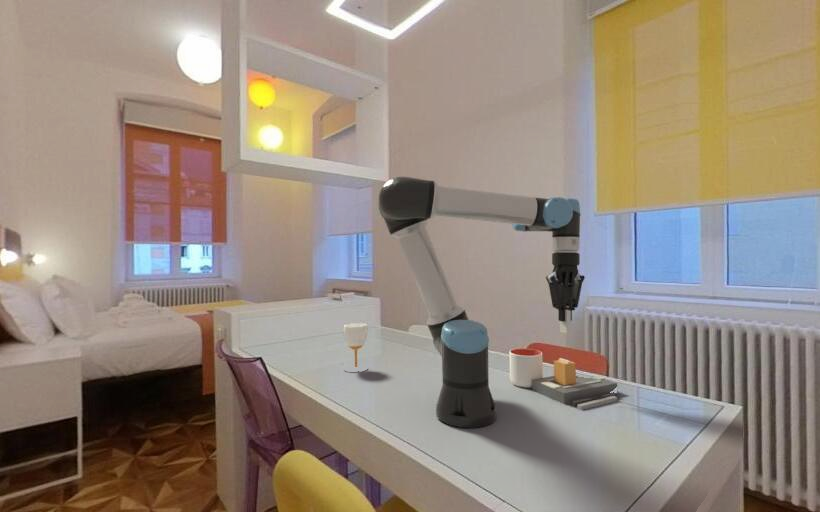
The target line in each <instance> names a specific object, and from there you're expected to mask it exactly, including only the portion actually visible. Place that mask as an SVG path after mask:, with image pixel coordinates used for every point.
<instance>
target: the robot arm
mask: <svg viewBox="0 0 820 512" xmlns="http://www.w3.org/2000/svg"><path fill="white" fill-rule="evenodd" d="M378 210H379V213H380V215H381V217H382V219H383V220H384V222H385V224H386V228H387V229H388V232H389V235H390V237H393V238H395V239H397V240H398V243H399V245H400V248H401V250H402V252H403V255H404V257H405V260H406V262H407V265H408V267H409V270H410V272H411V274H412V276H413V279H414V282H415V284H416V286H417V289H418V292H419V294H420V296H421V299H422V301H423V304H424V307H425V309H426V311H427V314H428V319H427V321H426V325H427V328H428V330H429V332H430V335H431V337H432V341H433V344H434V347H435V349H436V351H437V352H438V353H439V355H440V356H441V362H442V363H441V364H442V365H441V366H442V368H441V369H442V374H441V375H442V376H441V377H442V384H441V389H440V392H439V395H438V399H437V403H436V405H435V406H436V407H435V415H437V416H436V418H437V417H438V418H439V419H440V420H441V421H443V422H445V423H448V424H450V425H449V426H451V425H454V426H453V427H455V426H460V427H459V428H463V427H469V428H468V429H472V428H473V427H474V428H475V429H476V428H483V427H486V426H489V425H491V424H493V423H494V422H495V421H496V420H497V406H496V404H495V402H494V398H493V395H492V393H491V389H490V386H489V383H490V382H489V341H490V338H489V335H488V328H487V327H486V326H485V325H484V324H483V323H482V322H479V321H474V320H471V319H470V320H469V317H468V315H467V313H466V310H465V308H464V307H463V306H460V305H459V304H457V301H456V299H455V297H454V294H453V292H452V290H451V287H450V285H449V282H448V280H447V278H446V275H445V273H444V272H445V271H444V270H443V268H442V265H441V263H440V260H439V257H438V255H437V252H436V250H435V248H434V245H433V243H432V241H431V237H430V235H429V233H428V230H427V226H428V225H427V224H428V222H429V220H431V219H432V218H434V217H435V216H437V217H446V218H447V217H448V218H455V219H462V220H463V219H464V220H473V221H481V222H482V221H483V222H492V223H501V224H508V225H510V224H511V226H512V228H513V230H515V232H524V233H526V232H550V233H551V232H552V233H551V237H552V238H551V239H552V240H551V243H552V244H551V249H552V251H553V253H551V264H552V265H553V269H552V273H551V274H550V275H546V277H545V280H546V281H547V283H548V288H549V295H550V299H551V304H552V307H553V308H555V309H556V310H558V322H559V332H560V333H564V334H570V333H571V328H572V327H571V324H572V323H571V322H572V320H573V311H575V310H576V308H578V306H579V302H580V298H581V297H580V296H581V291H582V286H583V283H584V280H585V278H586V277H585V275H582V274H580V273H579V269H578V266H580V252H579V251H580V235H581V233H580V231H581V230H580V226H581V224H580V223H581V221H580V220H581V206H580V202H579V200H578V199H577V198H564V197H558V196H557V197H550V198H545V197H544V198H543V197H535V196H526V195H518V194H510V193H501V192H494V191H486V190H485V191H484V190H479V189H478V190H476V189H468V188H461V187H453V186H452V187H451V186H445V185H444V186H443V185H439V184H438V183H437V182H436V181H435V180H428V179H421V178H416V177H410V176H396V177H393V178H390V179H389V180H387V181H386V182H385V183H384V184H383V185H382V186H381V188H380V191H379V194H378ZM438 418H437V419H438ZM439 419H438V420H439ZM440 420H439V421H440ZM441 421H440V422H441ZM443 422H442V423H443ZM445 423H444V424H445ZM448 424H447V425H448ZM471 427H472V428H471Z"/></svg>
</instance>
